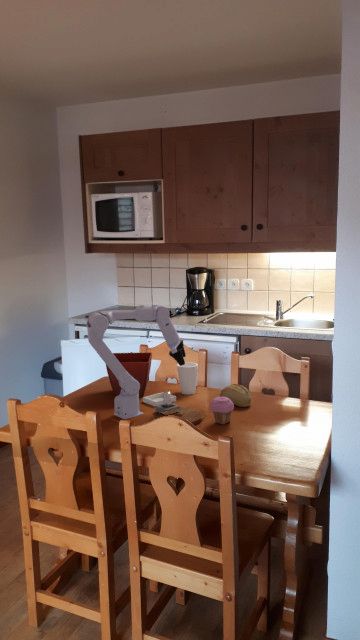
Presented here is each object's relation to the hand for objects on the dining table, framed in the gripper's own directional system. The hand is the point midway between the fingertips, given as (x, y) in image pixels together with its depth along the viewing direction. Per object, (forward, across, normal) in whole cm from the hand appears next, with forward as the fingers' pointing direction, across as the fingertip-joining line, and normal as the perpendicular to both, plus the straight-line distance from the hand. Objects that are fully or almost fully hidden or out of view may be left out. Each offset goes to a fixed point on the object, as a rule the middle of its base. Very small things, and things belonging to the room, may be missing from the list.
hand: (183, 360), depth 211 cm
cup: (+14, -12, +12) cm, 22 cm away
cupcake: (+20, -23, -8) cm, 32 cm away
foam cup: (+22, +15, +8) cm, 28 cm away
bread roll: (+27, -1, -12) cm, 29 cm away
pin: (+14, -12, +12) cm, 22 cm away
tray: (+15, +2, +18) cm, 23 cm away
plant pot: (+12, +15, +32) cm, 37 cm away
